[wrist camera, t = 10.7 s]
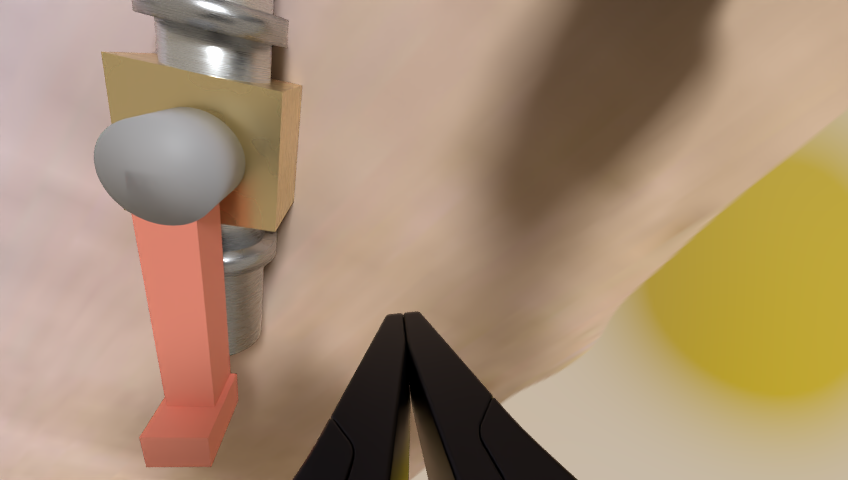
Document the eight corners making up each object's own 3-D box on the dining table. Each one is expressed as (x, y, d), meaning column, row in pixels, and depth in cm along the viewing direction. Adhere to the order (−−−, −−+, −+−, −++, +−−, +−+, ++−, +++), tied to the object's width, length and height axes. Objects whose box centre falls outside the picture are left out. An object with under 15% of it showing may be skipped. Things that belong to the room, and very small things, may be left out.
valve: (320, -127, 14) (293, -217, 10) (287, 309, 23) (265, 370, 19) (153, -186, 13) (29, -322, 8) (187, 299, 22) (137, 361, 18)
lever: (252, 390, 20) (223, 466, 16) (181, 387, 19) (133, 466, 15) (244, 116, 13) (193, 137, 10) (137, 98, 13) (38, 113, 9)
